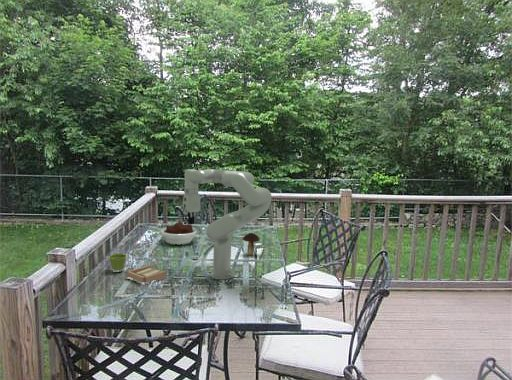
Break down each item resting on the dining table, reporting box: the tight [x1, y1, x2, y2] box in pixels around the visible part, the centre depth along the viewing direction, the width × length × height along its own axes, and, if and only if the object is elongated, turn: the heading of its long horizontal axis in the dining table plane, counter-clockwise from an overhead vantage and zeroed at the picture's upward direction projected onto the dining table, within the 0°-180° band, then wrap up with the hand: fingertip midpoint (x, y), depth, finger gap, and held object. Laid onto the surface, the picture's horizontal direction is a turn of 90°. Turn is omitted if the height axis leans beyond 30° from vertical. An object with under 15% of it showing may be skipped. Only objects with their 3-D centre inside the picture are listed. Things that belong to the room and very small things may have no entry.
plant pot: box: [108, 253, 128, 270], centre depth 225 cm, size 9×9×9 cm
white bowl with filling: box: [159, 221, 198, 246], centre depth 287 cm, size 25×25×15 cm
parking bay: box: [125, 264, 167, 282], centre depth 216 cm, size 14×14×4 cm
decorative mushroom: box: [242, 232, 260, 256], centre depth 265 cm, size 11×11×15 cm
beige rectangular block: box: [136, 267, 162, 277], centre depth 217 cm, size 8×11×4 cm
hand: (191, 223), depth 230 cm, fingers closed
